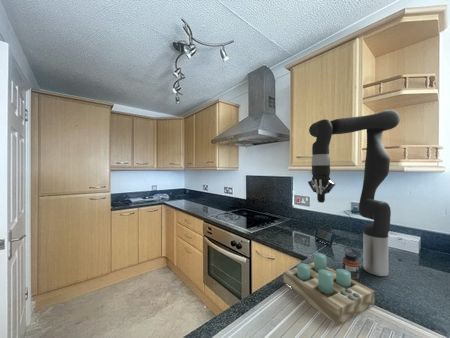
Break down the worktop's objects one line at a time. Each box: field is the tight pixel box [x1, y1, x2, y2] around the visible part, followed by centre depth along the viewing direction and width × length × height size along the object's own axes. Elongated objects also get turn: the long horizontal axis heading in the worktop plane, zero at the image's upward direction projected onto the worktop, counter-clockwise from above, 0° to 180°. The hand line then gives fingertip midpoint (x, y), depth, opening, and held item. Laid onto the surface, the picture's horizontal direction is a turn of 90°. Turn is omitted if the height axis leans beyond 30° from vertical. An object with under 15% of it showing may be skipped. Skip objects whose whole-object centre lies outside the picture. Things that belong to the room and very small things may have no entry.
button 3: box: [318, 269, 333, 294], centre depth 69 cm, size 5×5×6 cm
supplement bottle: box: [342, 251, 360, 283], centre depth 84 cm, size 6×6×11 cm
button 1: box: [296, 262, 310, 282], centre depth 78 cm, size 5×5×6 cm
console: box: [283, 261, 375, 326], centre depth 75 cm, size 20×24×5 cm
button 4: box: [335, 268, 351, 289], centre depth 73 cm, size 5×5×6 cm
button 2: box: [313, 252, 328, 271], centre depth 82 cm, size 5×5×6 cm
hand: (321, 202), depth 88 cm, fingers closed
